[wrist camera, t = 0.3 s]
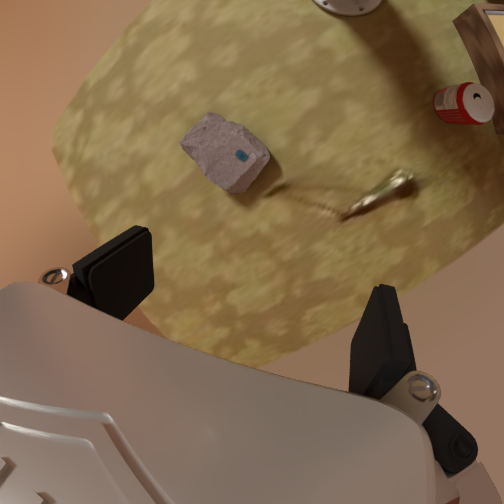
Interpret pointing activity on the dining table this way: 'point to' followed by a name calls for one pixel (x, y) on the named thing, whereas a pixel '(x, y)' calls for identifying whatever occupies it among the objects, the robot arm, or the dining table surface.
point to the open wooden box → (485, 54)
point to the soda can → (464, 104)
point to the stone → (225, 152)
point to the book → (496, 24)
